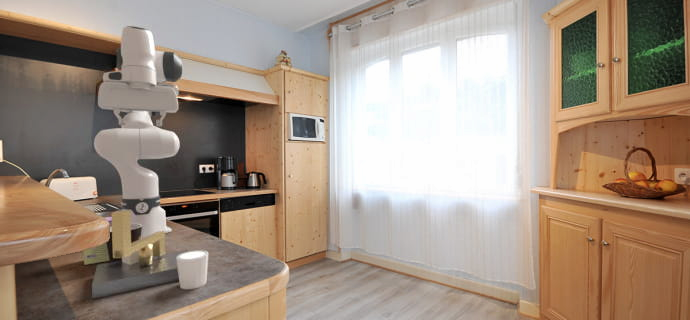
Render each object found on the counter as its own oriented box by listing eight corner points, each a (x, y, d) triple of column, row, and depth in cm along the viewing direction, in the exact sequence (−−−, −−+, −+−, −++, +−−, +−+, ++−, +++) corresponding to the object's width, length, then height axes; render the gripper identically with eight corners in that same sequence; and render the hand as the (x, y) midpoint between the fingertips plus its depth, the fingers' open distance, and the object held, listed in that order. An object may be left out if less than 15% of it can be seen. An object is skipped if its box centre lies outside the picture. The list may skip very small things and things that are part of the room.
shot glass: (188, 293, 69) (187, 261, 69) (170, 286, 73) (170, 256, 72) (215, 281, 75) (214, 252, 75) (198, 275, 79) (197, 248, 78)
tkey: (156, 254, 85) (155, 200, 84) (167, 254, 85) (166, 200, 84) (112, 279, 69) (110, 212, 68) (126, 279, 69) (123, 212, 68)
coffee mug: (123, 270, 82) (122, 232, 82) (97, 267, 84) (95, 230, 84) (158, 255, 94) (157, 222, 93) (134, 253, 95) (133, 220, 95)
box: (130, 252, 96) (128, 214, 96) (130, 257, 91) (128, 217, 91) (86, 259, 90) (84, 218, 90) (83, 265, 86) (82, 222, 85)
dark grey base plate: (97, 276, 78) (97, 264, 78) (186, 260, 89) (186, 249, 89) (92, 298, 67) (91, 285, 66) (195, 276, 78) (195, 264, 78)
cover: (122, 261, 80) (121, 250, 80) (138, 257, 83) (138, 245, 83) (130, 264, 78) (129, 252, 78) (147, 259, 81) (146, 248, 81)
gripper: (177, 86, 103) (178, 128, 103) (98, 79, 92) (99, 125, 91) (179, 81, 98) (181, 124, 98) (96, 72, 87) (97, 122, 86)
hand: (141, 125), depth 94 cm, fingers open, 8 cm apart
